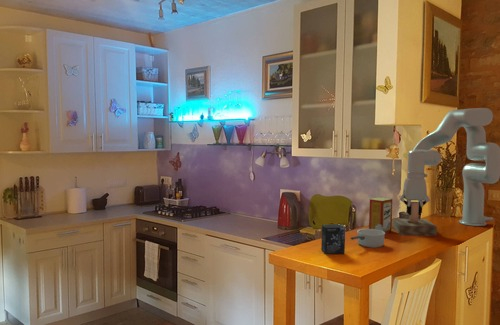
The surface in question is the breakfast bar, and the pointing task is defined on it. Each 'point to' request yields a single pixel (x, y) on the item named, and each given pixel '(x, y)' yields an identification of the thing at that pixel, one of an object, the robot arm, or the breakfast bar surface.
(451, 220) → the breakfast bar surface
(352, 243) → the breakfast bar surface
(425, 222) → the socket block
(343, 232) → the box
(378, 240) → the saucepan
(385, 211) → the baking soda box
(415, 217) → the peg
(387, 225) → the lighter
